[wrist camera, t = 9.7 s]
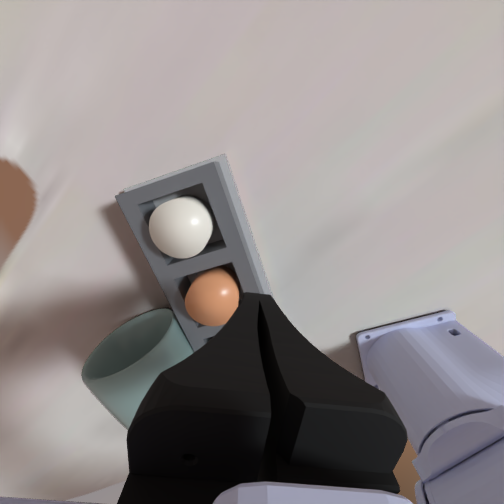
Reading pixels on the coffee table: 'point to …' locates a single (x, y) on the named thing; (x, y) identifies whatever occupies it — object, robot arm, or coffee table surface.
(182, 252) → the white egg
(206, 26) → the coffee table surface
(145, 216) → the gray compartment tray
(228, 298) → the orange egg
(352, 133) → the coffee table surface
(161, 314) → the cup
